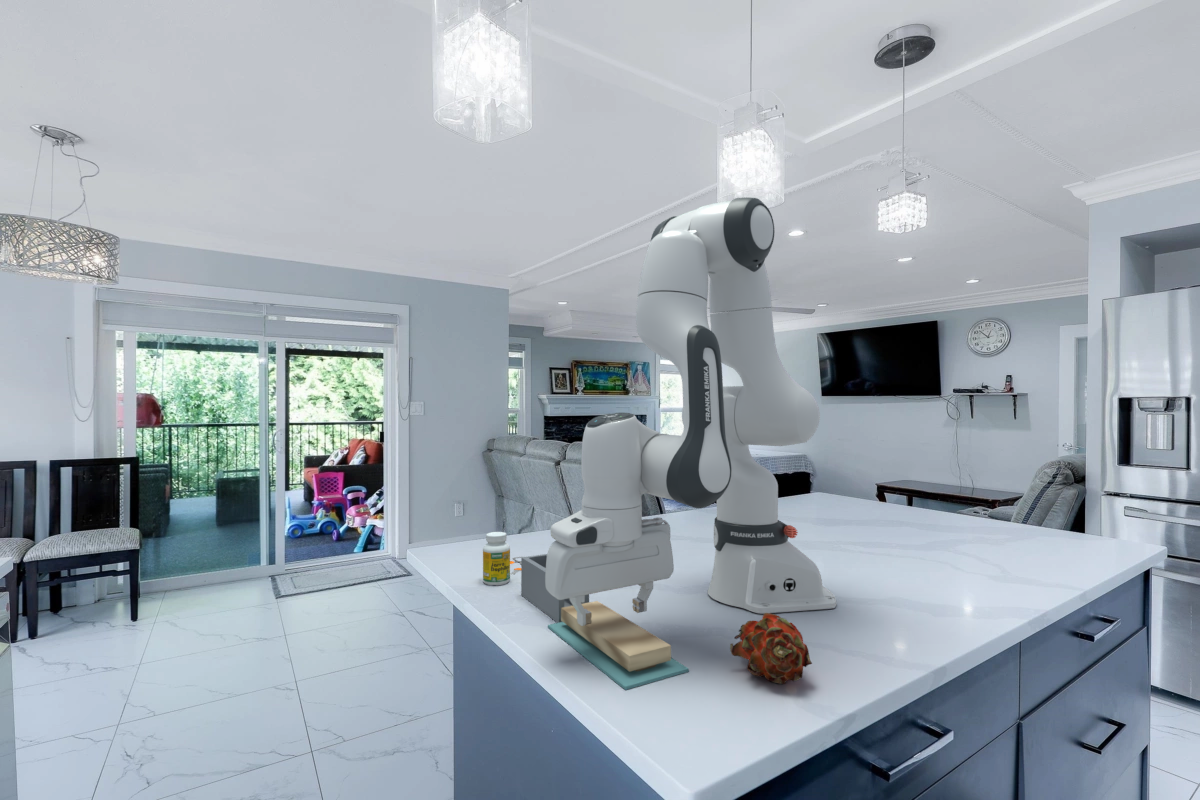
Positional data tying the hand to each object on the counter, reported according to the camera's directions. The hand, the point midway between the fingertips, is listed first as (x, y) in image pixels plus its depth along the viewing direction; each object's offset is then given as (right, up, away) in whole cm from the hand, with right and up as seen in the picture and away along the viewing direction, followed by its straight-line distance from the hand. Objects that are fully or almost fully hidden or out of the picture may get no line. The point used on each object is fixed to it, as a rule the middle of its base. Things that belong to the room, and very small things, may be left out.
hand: (612, 617), depth 84 cm
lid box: (-10, -4, +17) cm, 20 cm away
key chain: (-20, -5, +42) cm, 47 cm away
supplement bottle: (-23, -5, +30) cm, 38 cm away
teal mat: (0, -4, -1) cm, 4 cm away
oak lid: (0, -4, -1) cm, 4 cm away
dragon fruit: (+20, -4, -9) cm, 23 cm away
